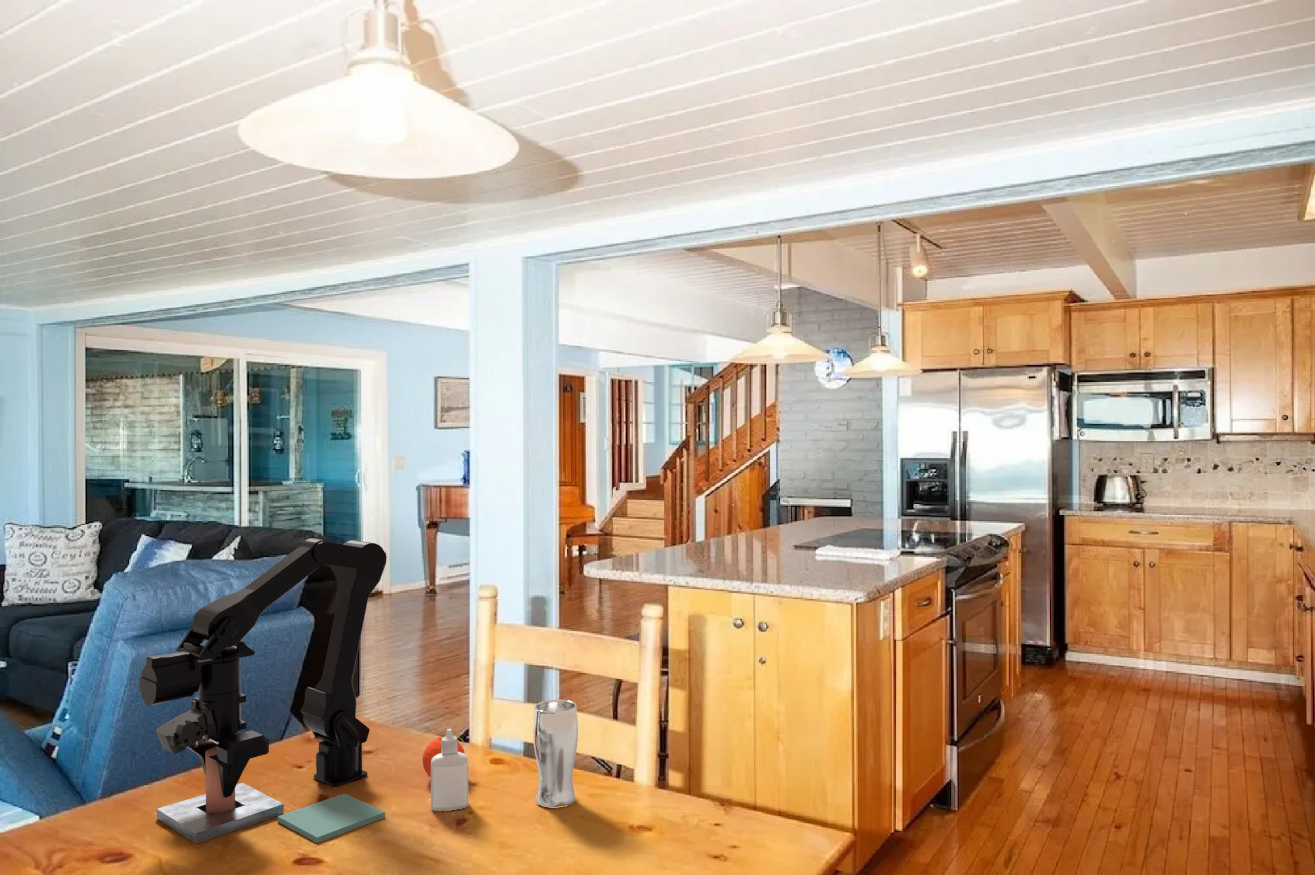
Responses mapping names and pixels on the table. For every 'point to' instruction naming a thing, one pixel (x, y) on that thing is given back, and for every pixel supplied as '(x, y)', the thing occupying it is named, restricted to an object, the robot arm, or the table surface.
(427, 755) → the clementine
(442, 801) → the eye dropper bottle
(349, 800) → the rubber mat
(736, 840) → the table surface
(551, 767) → the beer glass
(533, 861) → the table surface
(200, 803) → the grey square hole plate
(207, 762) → the pink rounded cylinder
